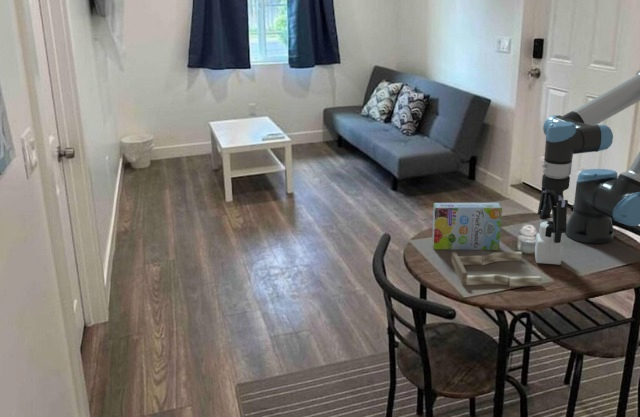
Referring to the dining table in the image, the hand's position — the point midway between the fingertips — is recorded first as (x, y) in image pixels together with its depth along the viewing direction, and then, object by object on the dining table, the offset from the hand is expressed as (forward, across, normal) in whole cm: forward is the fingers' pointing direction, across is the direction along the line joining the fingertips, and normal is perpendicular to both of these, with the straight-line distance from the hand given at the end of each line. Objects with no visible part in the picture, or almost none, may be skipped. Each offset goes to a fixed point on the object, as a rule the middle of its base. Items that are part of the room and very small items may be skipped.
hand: (548, 244), depth 175 cm
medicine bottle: (+5, 0, 0) cm, 5 cm away
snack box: (+6, -13, -22) cm, 27 cm away
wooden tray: (+5, +6, -20) cm, 21 cm away
